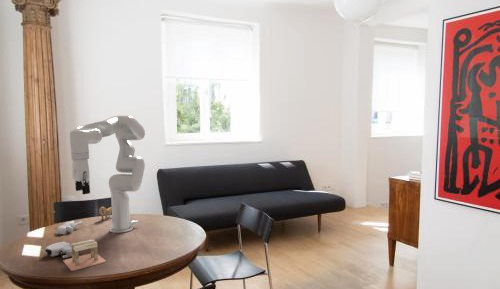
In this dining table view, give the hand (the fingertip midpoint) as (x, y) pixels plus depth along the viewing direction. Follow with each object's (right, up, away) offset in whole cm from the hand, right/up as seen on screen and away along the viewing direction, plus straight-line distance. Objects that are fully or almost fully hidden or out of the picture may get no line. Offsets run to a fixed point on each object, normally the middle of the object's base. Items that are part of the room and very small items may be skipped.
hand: (82, 192), depth 173 cm
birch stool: (+7, -29, -12) cm, 32 cm away
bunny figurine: (-23, -27, +32) cm, 48 cm away
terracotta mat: (+6, -29, -12) cm, 32 cm away
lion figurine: (-10, -25, +57) cm, 63 cm away
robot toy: (-7, -29, -3) cm, 30 cm away
